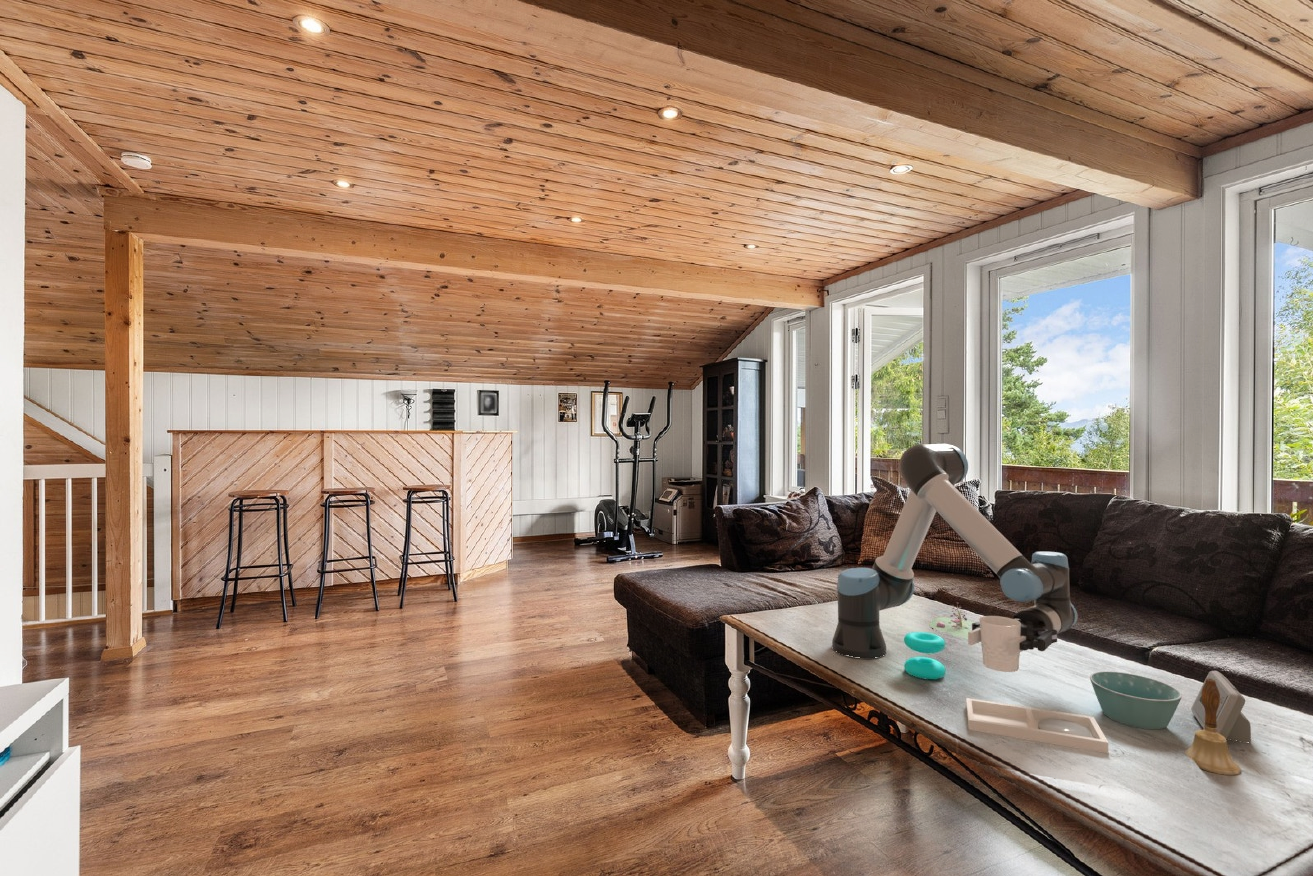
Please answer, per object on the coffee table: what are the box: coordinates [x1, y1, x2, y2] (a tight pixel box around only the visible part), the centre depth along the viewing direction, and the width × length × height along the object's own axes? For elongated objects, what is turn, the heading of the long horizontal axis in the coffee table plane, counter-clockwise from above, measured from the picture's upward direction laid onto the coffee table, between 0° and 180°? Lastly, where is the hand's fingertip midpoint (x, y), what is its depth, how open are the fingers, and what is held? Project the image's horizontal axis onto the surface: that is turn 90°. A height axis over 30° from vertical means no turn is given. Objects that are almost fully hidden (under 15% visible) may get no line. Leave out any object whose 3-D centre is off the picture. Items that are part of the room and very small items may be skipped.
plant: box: [929, 602, 975, 641], centre depth 195 cm, size 25×21×9 cm
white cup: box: [979, 615, 1021, 673], centre depth 132 cm, size 8×8×10 cm
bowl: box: [1089, 671, 1183, 730], centre depth 131 cm, size 16×16×8 cm
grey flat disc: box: [1038, 719, 1091, 738], centre depth 125 cm, size 9×9×1 cm
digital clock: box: [1190, 670, 1252, 744], centre depth 127 cm, size 16×9×11 cm, turn 138°
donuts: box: [903, 631, 947, 680], centre depth 160 cm, size 10×10×10 cm
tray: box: [965, 697, 1110, 754], centre depth 127 cm, size 24×12×3 cm, turn 65°
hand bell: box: [1185, 678, 1242, 776], centre depth 114 cm, size 8×8×16 cm
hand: (989, 643), depth 129 cm, fingers closed on white cup, 8 cm apart
